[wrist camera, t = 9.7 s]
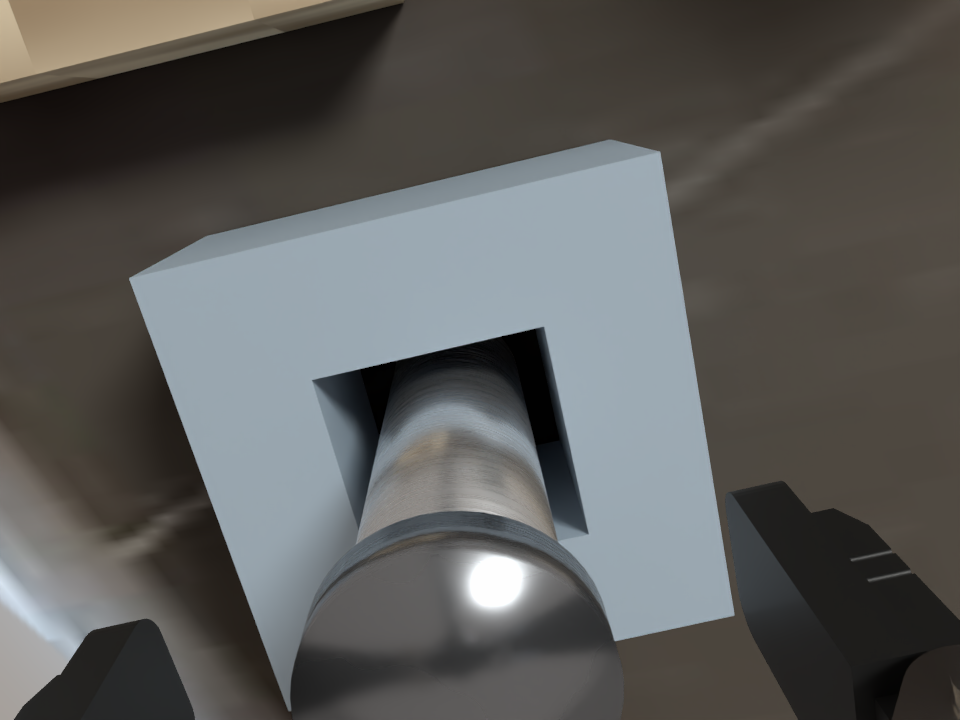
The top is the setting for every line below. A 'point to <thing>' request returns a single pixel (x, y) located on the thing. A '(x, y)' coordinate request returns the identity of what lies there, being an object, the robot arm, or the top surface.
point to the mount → (137, 34)
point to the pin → (457, 570)
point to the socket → (437, 326)
